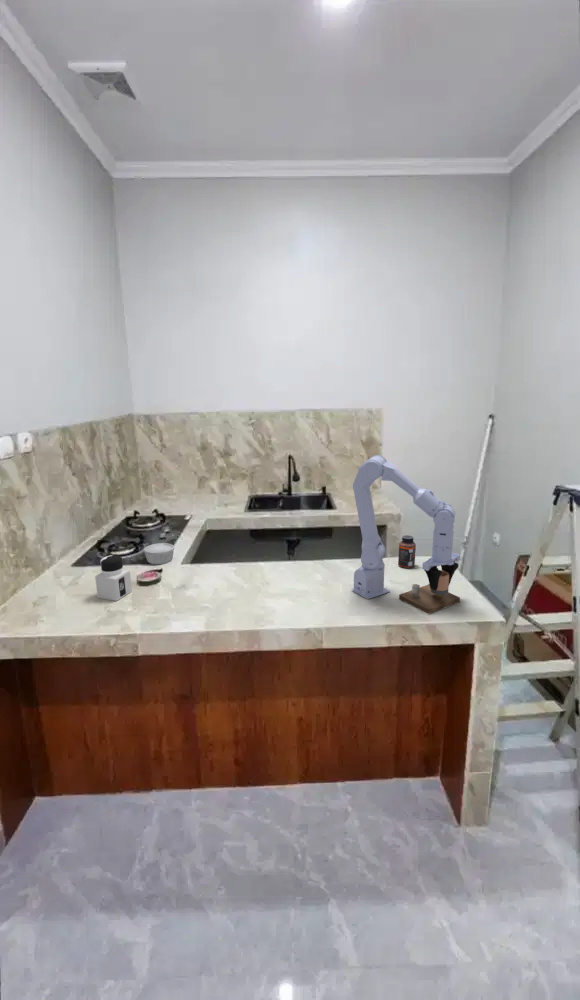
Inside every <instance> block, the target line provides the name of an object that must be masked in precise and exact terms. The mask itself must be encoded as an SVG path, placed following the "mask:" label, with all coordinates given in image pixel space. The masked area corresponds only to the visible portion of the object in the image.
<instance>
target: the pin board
mask: <svg viewBox="0 0 580 1000" xmlns="http://www.w3.org/2000/svg"><path fill="white" fill-rule="evenodd" d="M411 585H412V586H411V587H412V588H411V590H408V591H406V592H402V593H400V594H398V600H400V601H402V602H404V603H406V604H408V605H410V606H412V607H414V608H415V609H418V610H420V611H422V612H424V613H425V614H427V615H430V614H433V613H436V612H438V611H440V610H443V609H445V607H446V608H449V607H452V606H453V605H455V603H456V604H458V603H460V602H461V597H460V596H458V595H456V594H453V593H451V592H449V591H448V594H445V595H443V598H436V597H435V594H434V593H432V592H431V588H430V584H429V583H428V584H427V585H422V586H421V585H420V584H418V583H413V584H411Z"/></svg>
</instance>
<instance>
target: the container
mask: <svg viewBox="0 0 580 1000" xmlns="http://www.w3.org/2000/svg"><path fill="white" fill-rule="evenodd" d="M123 566H124V564H123V557H122V556H120V555H117V554H112V555H111V554H110V555H107V556H104V557H102V558H101V559H100V571H101V572H100V573H99V574H97V575H95V585H96V594H97V598H98V599H102V600H109V601H113V602H118V601H120V600H121V599H122V598H124V597H126V596H127V595H128V594H130V593H132V591H133V588H132V577H131V570H130V569H124V567H123Z"/></svg>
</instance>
